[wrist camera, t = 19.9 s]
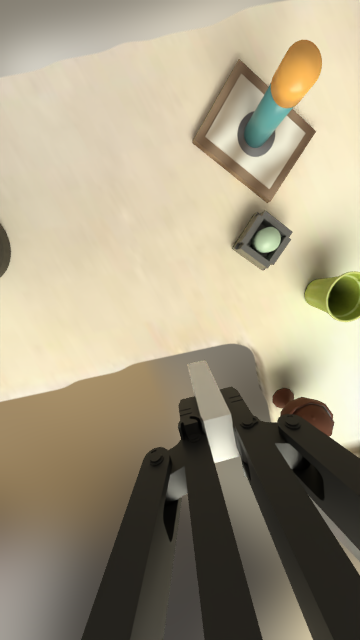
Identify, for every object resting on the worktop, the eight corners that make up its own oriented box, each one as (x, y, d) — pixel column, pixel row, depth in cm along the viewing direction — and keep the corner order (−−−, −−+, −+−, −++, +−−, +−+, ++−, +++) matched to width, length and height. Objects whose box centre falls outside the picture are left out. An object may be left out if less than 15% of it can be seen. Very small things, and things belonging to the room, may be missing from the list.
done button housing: (232, 248, 44) (238, 246, 40) (254, 213, 42) (263, 208, 39) (261, 269, 45) (270, 270, 42) (284, 236, 44) (294, 233, 40)
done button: (247, 245, 42) (253, 243, 39) (259, 225, 41) (267, 221, 38) (263, 257, 43) (271, 256, 40) (276, 238, 42) (285, 235, 39)
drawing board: (192, 143, 39) (193, 138, 37) (236, 65, 36) (239, 57, 35) (267, 203, 42) (271, 200, 41) (311, 135, 40) (317, 130, 38)
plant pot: (328, 262, 46) (365, 261, 38) (342, 299, 48) (380, 305, 40) (290, 285, 46) (319, 289, 38) (306, 320, 49) (336, 331, 40)
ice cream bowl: (294, 419, 55) (342, 473, 40) (255, 412, 53) (291, 465, 39) (310, 383, 53) (366, 426, 38) (270, 374, 51) (312, 416, 37)
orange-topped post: (237, 137, 38) (275, 71, 25) (253, 111, 37) (300, 29, 24) (258, 155, 39) (304, 99, 26) (274, 129, 38) (329, 59, 25)
